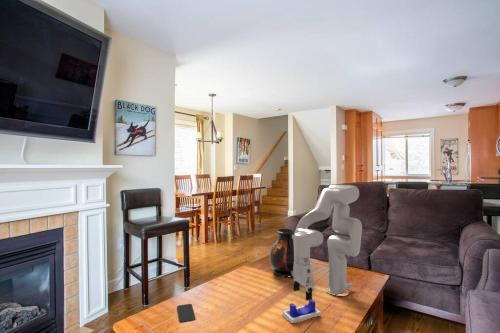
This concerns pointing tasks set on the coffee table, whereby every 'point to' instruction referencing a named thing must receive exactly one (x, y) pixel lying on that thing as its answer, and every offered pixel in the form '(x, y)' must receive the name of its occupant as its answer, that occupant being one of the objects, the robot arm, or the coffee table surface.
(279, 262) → the amphora vase
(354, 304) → the coffee table surface
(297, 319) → the tray
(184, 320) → the phone
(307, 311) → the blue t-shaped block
